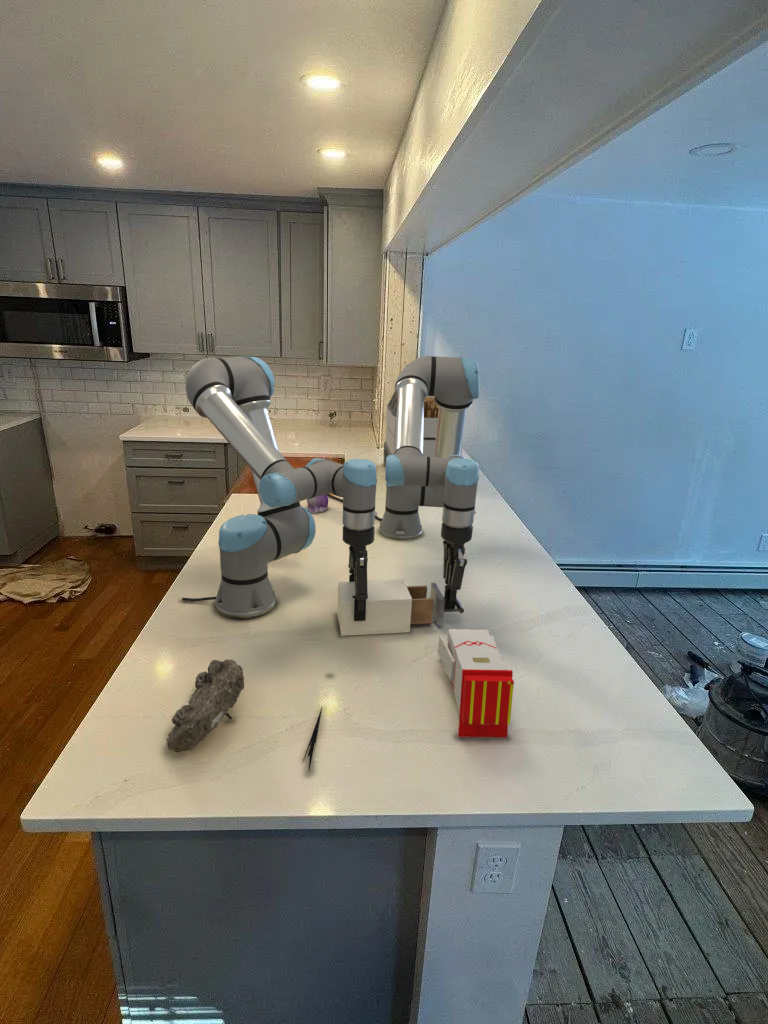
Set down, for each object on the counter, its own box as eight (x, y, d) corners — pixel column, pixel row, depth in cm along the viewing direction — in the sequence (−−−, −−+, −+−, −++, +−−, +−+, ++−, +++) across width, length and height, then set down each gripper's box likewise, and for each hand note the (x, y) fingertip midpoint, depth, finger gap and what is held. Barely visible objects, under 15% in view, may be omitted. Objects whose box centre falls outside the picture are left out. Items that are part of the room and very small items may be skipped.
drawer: (454, 606, 150) (456, 581, 148) (464, 624, 142) (467, 598, 140) (374, 610, 147) (375, 585, 144) (380, 629, 138) (381, 602, 136)
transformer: (382, 463, 289) (386, 382, 275) (445, 464, 293) (451, 384, 279) (390, 482, 257) (394, 392, 243) (460, 483, 261) (468, 394, 247)
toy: (488, 613, 130) (523, 677, 101) (484, 667, 133) (517, 744, 104) (435, 612, 130) (455, 676, 101) (432, 666, 133) (451, 743, 103)
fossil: (192, 660, 117) (244, 628, 112) (224, 691, 120) (276, 661, 115) (142, 746, 98) (202, 712, 93) (182, 779, 101) (242, 748, 96)
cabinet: (401, 611, 149) (403, 579, 146) (409, 632, 139) (412, 598, 136) (337, 614, 146) (337, 582, 143) (341, 635, 137) (341, 601, 133)
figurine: (310, 515, 213) (310, 476, 208) (301, 506, 222) (301, 469, 217) (333, 512, 218) (334, 474, 213) (323, 503, 226) (324, 467, 221)
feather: (331, 679, 122) (336, 673, 122) (307, 777, 96) (313, 769, 95) (324, 675, 122) (329, 669, 121) (298, 772, 95) (304, 764, 95)
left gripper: (382, 544, 123) (379, 632, 131) (367, 508, 144) (365, 586, 152) (348, 545, 122) (346, 634, 129) (338, 509, 143) (337, 587, 150)
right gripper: (481, 533, 132) (470, 621, 140) (464, 513, 144) (456, 596, 152) (449, 533, 130) (441, 623, 138) (435, 514, 142) (428, 597, 150)
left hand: (356, 608), depth 141 cm, fingers closed on cabinet, 10 cm apart
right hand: (449, 609), depth 145 cm, fingers closed
